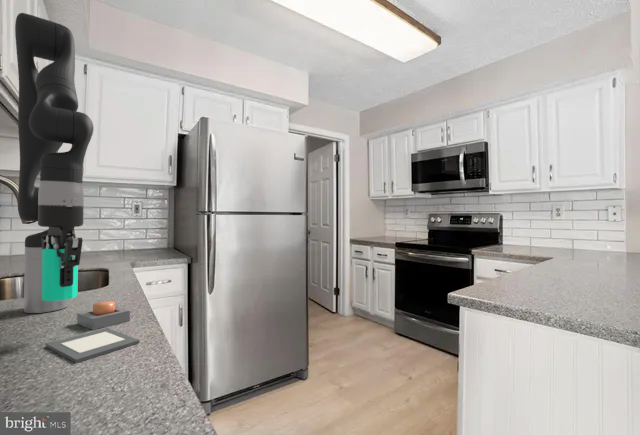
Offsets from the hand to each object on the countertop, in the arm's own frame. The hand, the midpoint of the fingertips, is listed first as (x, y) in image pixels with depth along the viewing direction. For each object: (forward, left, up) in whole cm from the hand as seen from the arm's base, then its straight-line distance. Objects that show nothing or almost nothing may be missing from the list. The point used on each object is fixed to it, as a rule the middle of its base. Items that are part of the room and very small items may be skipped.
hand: (60, 283), depth 69 cm
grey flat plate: (+11, +2, -11) cm, 16 cm away
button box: (-3, +10, -11) cm, 15 cm away
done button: (-3, +10, -10) cm, 14 cm away
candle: (0, 0, -3) cm, 3 cm away
